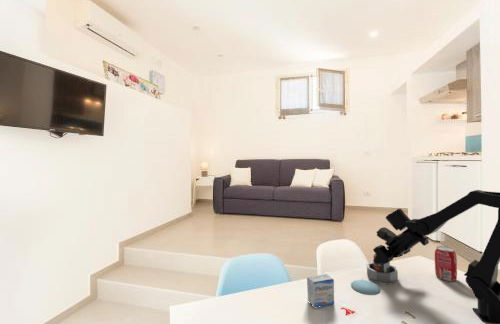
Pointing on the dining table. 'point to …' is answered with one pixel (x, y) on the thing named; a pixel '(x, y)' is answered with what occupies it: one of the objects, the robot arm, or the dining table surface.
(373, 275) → the grey octagonal bowl
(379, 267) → the supplement bottle
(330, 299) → the medicine box
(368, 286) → the teal mat
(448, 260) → the soda can
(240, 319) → the dining table surface
